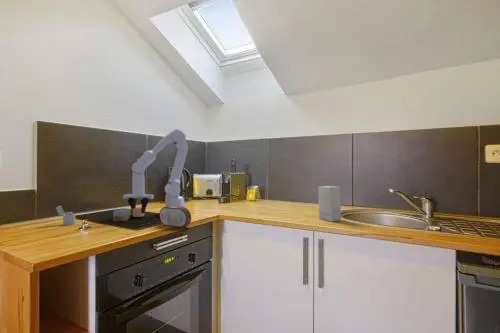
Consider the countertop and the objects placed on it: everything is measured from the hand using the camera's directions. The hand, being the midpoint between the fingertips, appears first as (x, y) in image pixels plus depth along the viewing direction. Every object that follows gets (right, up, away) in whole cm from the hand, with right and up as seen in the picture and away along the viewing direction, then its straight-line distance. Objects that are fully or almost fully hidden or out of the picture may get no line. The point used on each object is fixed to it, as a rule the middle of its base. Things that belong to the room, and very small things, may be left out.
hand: (138, 213), depth 136 cm
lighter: (-24, -2, -19) cm, 30 cm away
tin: (+24, -2, -23) cm, 33 cm away
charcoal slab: (-4, +1, -10) cm, 10 cm away
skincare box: (+92, -2, -10) cm, 93 cm away
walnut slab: (-4, -2, -10) cm, 11 cm away
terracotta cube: (0, -1, 0) cm, 1 cm away
